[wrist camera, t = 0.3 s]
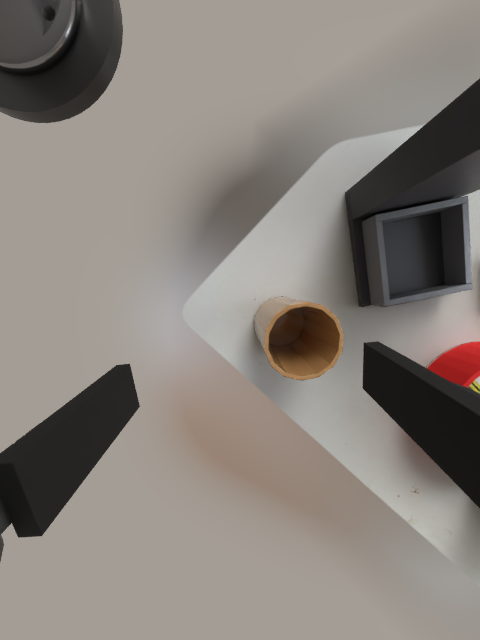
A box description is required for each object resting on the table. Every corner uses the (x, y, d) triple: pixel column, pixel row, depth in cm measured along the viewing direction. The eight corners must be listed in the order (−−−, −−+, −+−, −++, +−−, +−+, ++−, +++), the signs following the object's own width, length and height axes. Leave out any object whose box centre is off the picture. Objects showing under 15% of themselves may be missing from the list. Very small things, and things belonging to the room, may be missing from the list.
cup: (249, 302, 33) (256, 311, 21) (301, 291, 33) (338, 295, 21) (258, 351, 34) (271, 386, 22) (309, 341, 34) (348, 371, 22)
